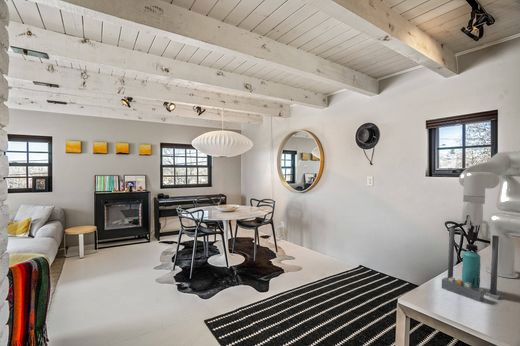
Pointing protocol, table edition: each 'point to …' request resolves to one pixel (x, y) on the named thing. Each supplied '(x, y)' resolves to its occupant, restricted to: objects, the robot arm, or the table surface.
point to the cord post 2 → (494, 269)
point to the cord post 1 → (451, 252)
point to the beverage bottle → (471, 266)
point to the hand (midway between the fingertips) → (472, 240)
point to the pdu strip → (463, 288)
